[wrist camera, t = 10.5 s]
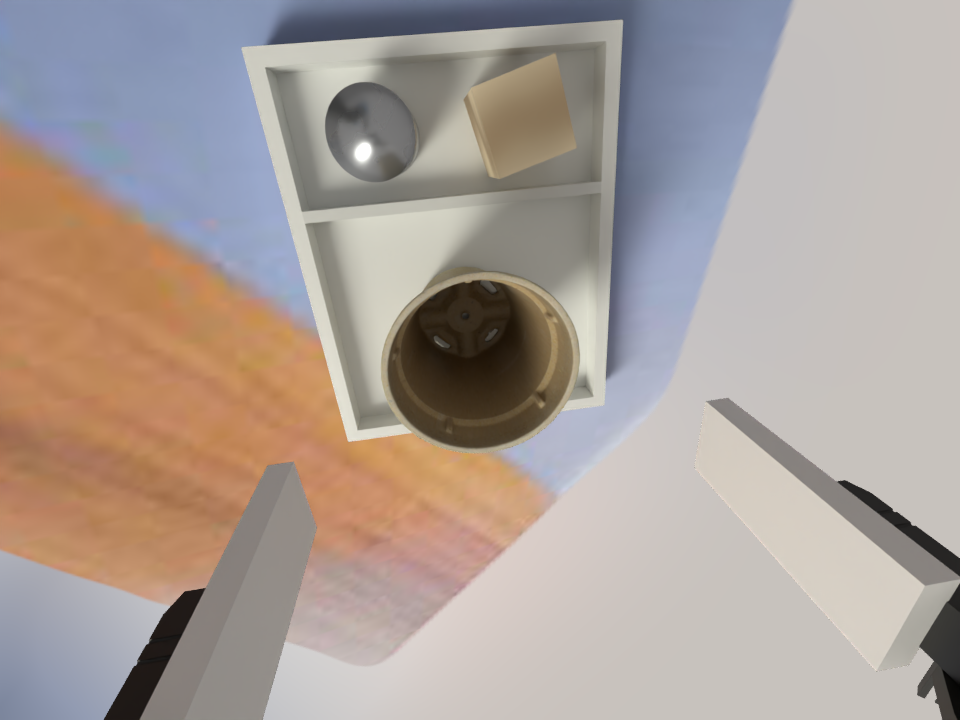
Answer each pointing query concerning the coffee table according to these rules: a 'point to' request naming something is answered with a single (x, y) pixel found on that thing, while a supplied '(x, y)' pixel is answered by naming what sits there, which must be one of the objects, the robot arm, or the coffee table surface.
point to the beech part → (521, 118)
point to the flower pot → (480, 361)
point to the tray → (442, 192)
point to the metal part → (371, 132)
